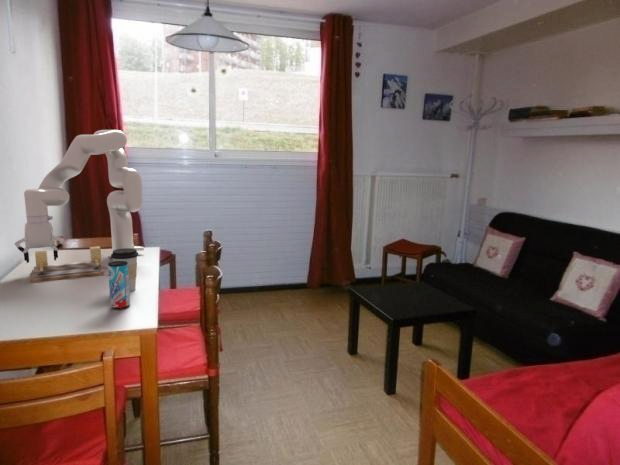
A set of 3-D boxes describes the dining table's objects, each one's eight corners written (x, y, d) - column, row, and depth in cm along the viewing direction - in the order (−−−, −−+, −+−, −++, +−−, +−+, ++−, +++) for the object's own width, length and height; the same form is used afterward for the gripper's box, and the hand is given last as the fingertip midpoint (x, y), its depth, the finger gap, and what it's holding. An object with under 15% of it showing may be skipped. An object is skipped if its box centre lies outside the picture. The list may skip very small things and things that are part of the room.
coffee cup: (123, 295, 156) (121, 254, 153) (107, 290, 161) (104, 251, 158) (145, 289, 164) (143, 250, 161) (129, 284, 169) (127, 246, 166)
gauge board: (101, 265, 195) (100, 258, 194) (103, 274, 181) (103, 267, 181) (32, 272, 182) (31, 265, 182) (29, 282, 169) (28, 274, 168)
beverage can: (108, 306, 145) (105, 262, 142) (126, 302, 149) (123, 260, 147) (115, 311, 141) (112, 266, 138) (133, 307, 145) (130, 263, 142)
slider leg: (48, 266, 183) (46, 250, 182) (47, 272, 174) (45, 255, 173) (37, 267, 181) (35, 251, 180) (35, 273, 172) (34, 256, 171)
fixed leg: (101, 261, 193) (99, 246, 191) (102, 267, 184) (101, 251, 182) (90, 262, 191) (89, 247, 190) (92, 268, 182) (91, 252, 181)
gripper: (62, 217, 184) (65, 256, 187) (13, 219, 176) (17, 261, 179) (62, 219, 178) (65, 260, 181) (11, 222, 169) (15, 265, 173)
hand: (41, 260), depth 180 cm, fingers open, 9 cm apart
